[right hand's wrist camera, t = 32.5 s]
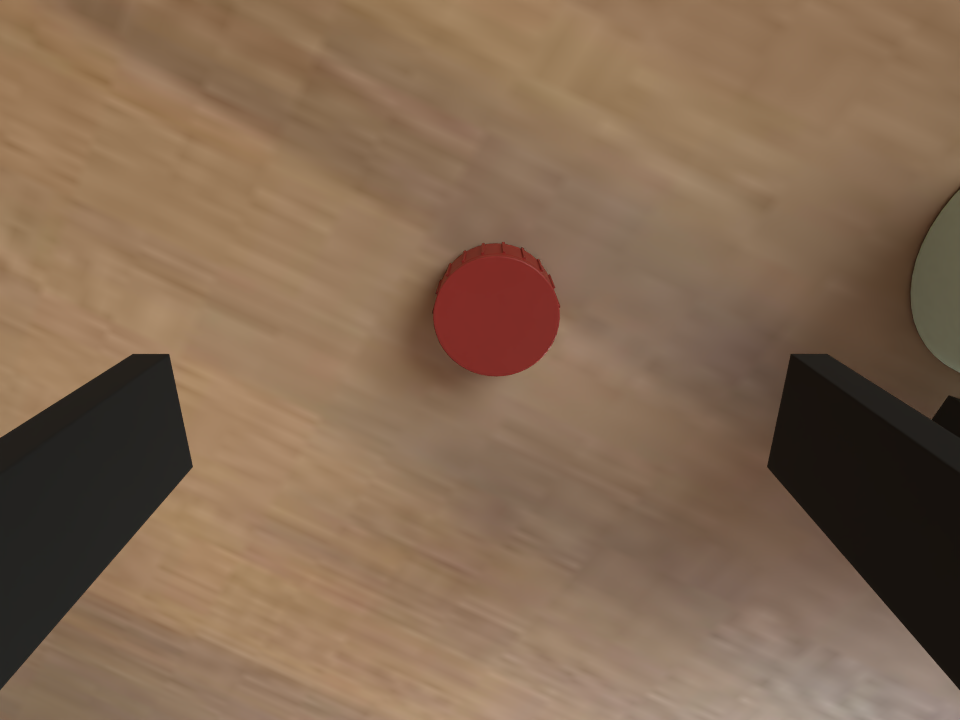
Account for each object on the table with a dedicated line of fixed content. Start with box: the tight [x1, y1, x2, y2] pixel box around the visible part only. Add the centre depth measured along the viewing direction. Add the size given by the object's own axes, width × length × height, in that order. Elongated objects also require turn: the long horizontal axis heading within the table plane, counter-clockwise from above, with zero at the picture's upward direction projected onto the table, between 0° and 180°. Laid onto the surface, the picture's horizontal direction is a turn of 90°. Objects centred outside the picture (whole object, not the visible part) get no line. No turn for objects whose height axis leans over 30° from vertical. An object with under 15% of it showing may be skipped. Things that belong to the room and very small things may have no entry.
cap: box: [433, 242, 560, 376], centre depth 18 cm, size 4×4×2 cm
